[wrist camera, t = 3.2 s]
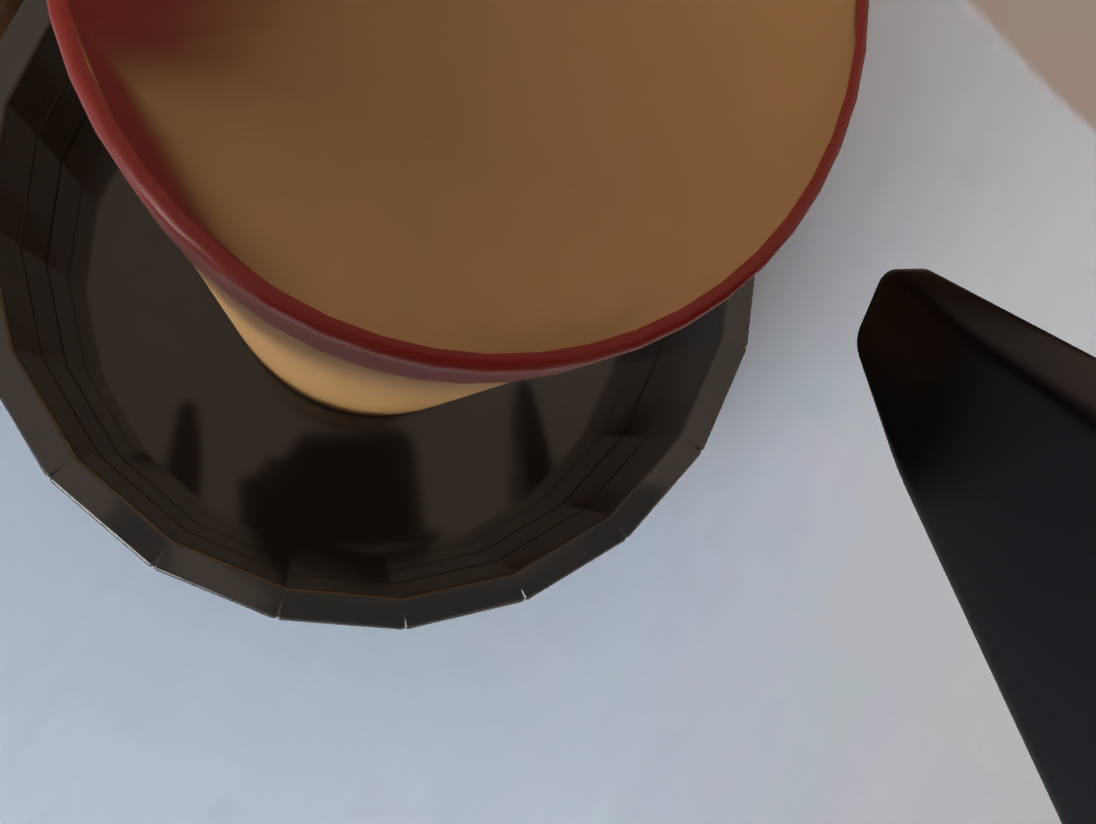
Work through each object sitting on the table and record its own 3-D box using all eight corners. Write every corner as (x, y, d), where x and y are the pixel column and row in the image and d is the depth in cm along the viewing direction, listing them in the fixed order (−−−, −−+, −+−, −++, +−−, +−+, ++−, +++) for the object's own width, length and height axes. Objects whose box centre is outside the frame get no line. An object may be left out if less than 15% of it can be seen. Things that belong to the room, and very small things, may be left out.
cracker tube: (581, 330, 19) (998, 152, 8) (316, 475, 18) (322, 533, 6) (439, 64, 19) (647, -567, 7) (157, 194, 17) (-156, -311, 6)
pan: (779, 398, 21) (874, 389, 17) (243, 717, 18) (227, 784, 14) (500, -141, 20) (541, -268, 16) (-111, 113, 17) (-221, 27, 13)
